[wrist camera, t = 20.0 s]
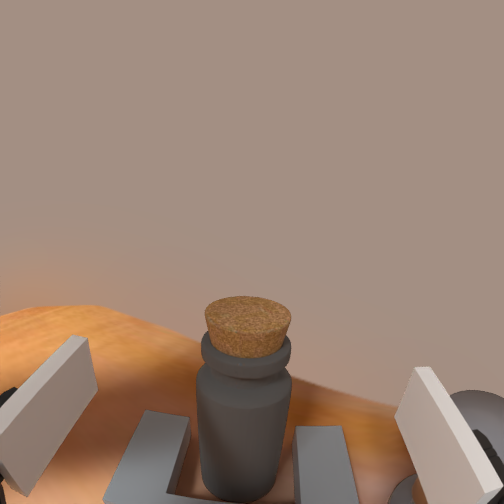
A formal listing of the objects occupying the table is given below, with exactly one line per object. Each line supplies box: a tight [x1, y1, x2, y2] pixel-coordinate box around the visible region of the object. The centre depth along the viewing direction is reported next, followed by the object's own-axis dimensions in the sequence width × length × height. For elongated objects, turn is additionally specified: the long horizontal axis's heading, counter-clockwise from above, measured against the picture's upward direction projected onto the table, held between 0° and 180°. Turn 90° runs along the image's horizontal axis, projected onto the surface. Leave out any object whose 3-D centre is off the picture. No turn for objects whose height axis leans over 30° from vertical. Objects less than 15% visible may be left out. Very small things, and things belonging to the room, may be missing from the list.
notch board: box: [103, 410, 359, 504], centre depth 20 cm, size 17×10×2 cm, turn 87°
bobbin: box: [388, 390, 504, 504], centre depth 15 cm, size 7×7×10 cm
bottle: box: [196, 296, 292, 503], centre depth 19 cm, size 6×6×15 cm
